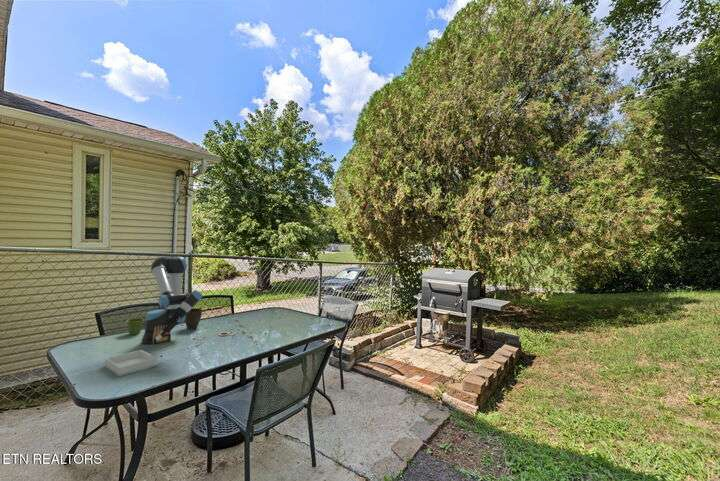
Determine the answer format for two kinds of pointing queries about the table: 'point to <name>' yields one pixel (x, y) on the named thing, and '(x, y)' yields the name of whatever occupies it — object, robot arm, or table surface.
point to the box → (130, 362)
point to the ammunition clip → (163, 339)
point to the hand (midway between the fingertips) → (155, 339)
